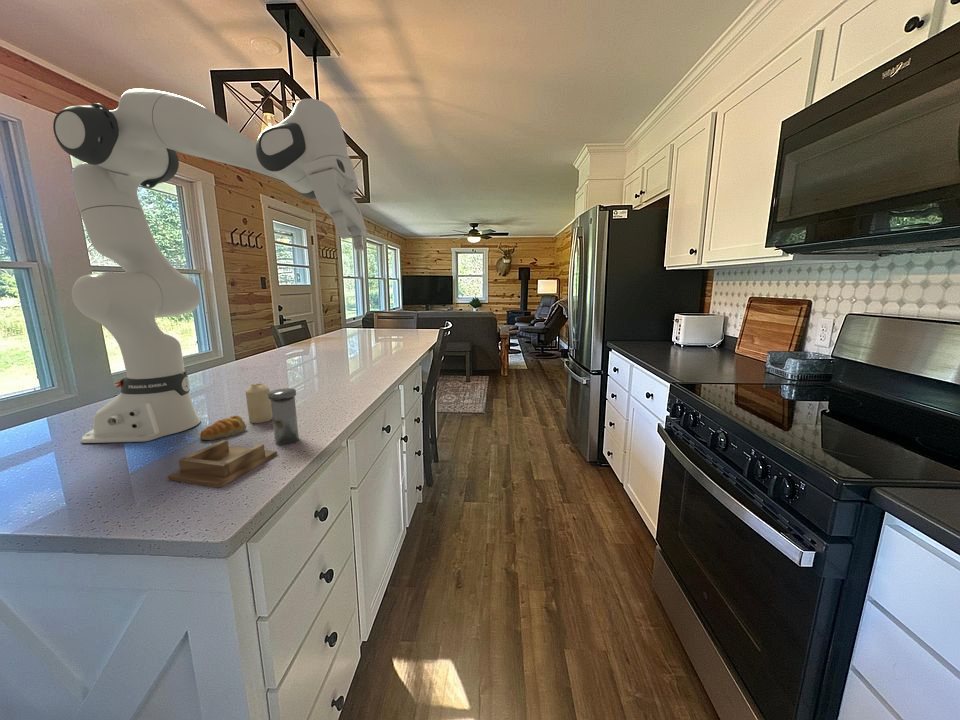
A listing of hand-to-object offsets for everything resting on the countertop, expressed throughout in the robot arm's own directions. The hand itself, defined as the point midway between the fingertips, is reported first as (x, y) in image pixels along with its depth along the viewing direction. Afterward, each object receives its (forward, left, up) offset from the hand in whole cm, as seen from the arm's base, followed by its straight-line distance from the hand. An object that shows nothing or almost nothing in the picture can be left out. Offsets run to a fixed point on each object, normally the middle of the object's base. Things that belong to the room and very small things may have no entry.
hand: (353, 244), depth 80 cm
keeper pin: (-18, +5, -45) cm, 48 cm away
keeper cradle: (-27, -6, -45) cm, 52 cm away
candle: (-28, +22, -45) cm, 57 cm away
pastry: (-34, +14, -45) cm, 58 cm away
